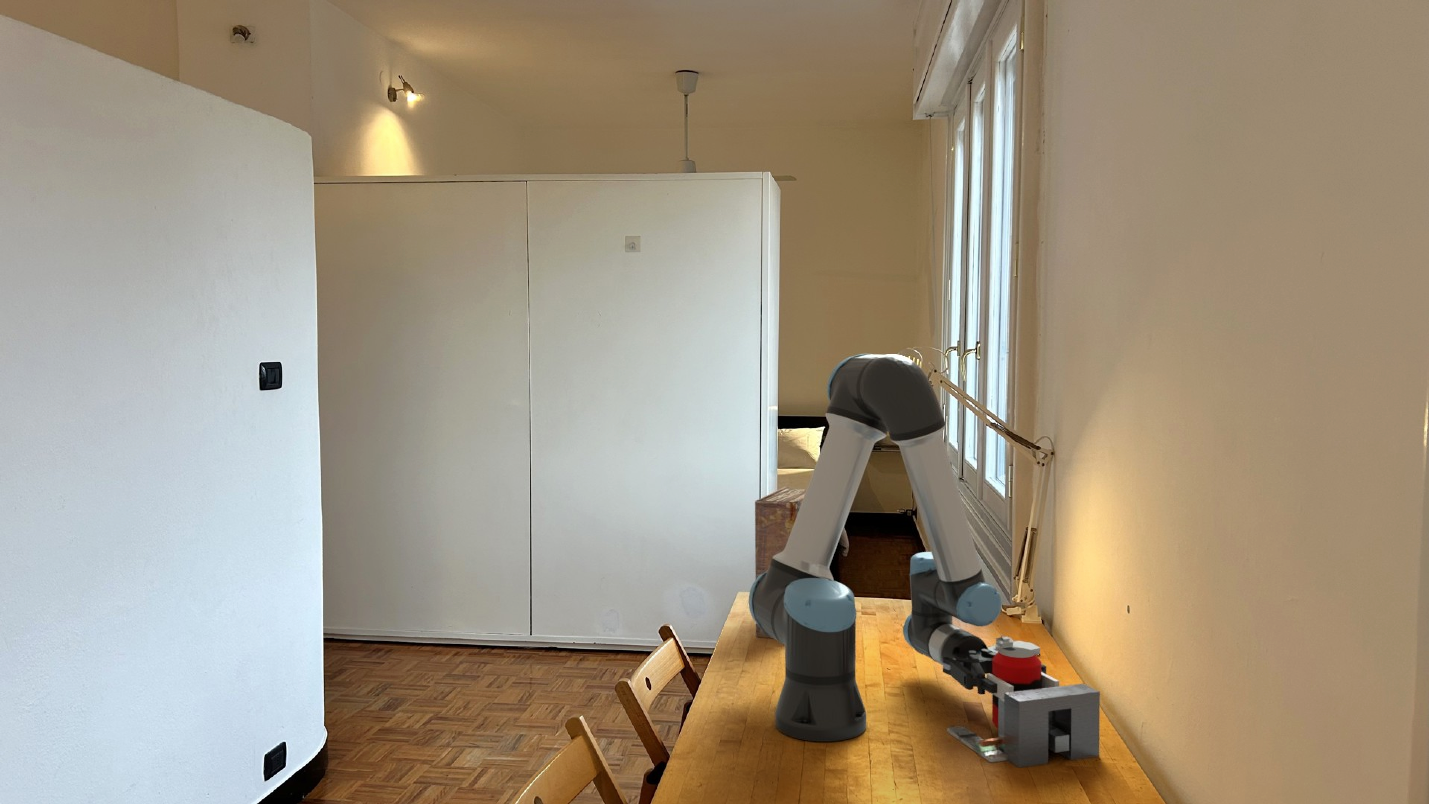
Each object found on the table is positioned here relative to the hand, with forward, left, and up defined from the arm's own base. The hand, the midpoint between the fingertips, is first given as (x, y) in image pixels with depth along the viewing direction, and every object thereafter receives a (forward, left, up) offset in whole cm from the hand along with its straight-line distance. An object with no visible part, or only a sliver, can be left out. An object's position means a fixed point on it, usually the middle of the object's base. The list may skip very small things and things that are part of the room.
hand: (1034, 692), depth 158 cm
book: (-11, +78, -9) cm, 79 cm away
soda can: (0, +5, -7) cm, 9 cm away
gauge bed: (-2, +1, -8) cm, 9 cm away
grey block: (-2, -4, -8) cm, 9 cm away
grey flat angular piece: (+23, +45, -9) cm, 51 cm away
